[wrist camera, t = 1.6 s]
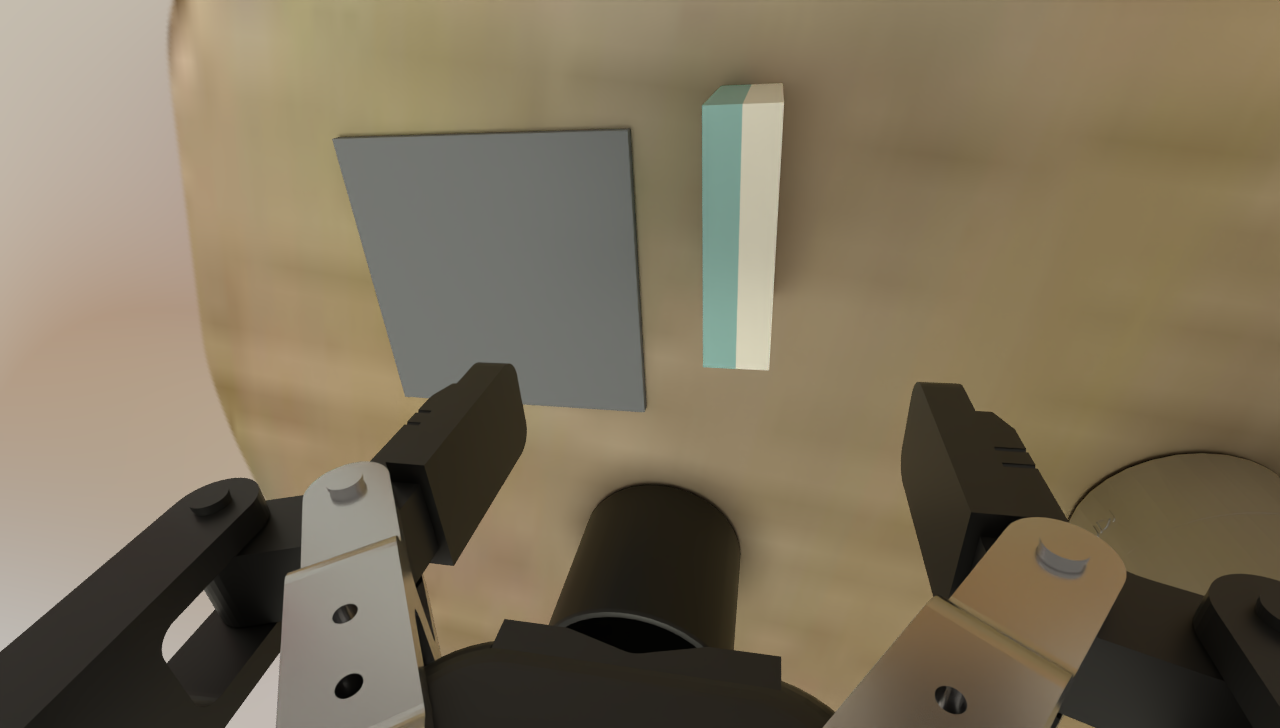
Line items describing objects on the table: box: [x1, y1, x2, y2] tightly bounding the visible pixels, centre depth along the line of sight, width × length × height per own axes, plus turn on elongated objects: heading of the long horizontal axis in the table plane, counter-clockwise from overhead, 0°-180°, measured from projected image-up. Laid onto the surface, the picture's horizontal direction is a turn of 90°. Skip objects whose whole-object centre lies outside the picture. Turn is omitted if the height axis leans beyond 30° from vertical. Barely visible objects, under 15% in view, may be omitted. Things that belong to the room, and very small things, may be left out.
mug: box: [549, 485, 741, 654], centre depth 33 cm, size 9×12×9 cm
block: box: [702, 83, 784, 370], centre depth 23 cm, size 2×9×7 cm, turn 3°
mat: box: [332, 129, 646, 412], centre depth 30 cm, size 14×14×1 cm
